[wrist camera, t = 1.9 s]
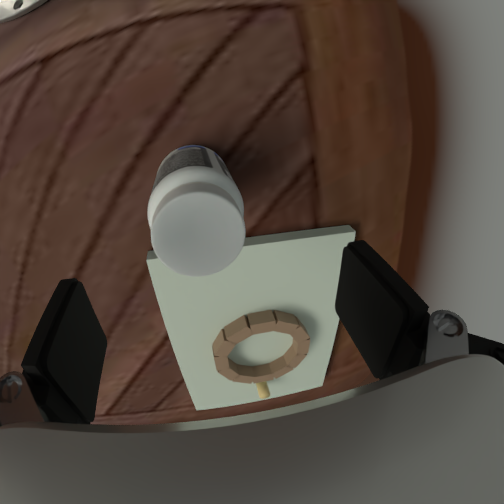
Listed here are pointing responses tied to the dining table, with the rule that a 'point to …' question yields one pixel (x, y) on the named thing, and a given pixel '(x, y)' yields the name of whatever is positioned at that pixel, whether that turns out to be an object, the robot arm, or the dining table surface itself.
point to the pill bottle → (195, 213)
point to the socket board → (256, 317)
